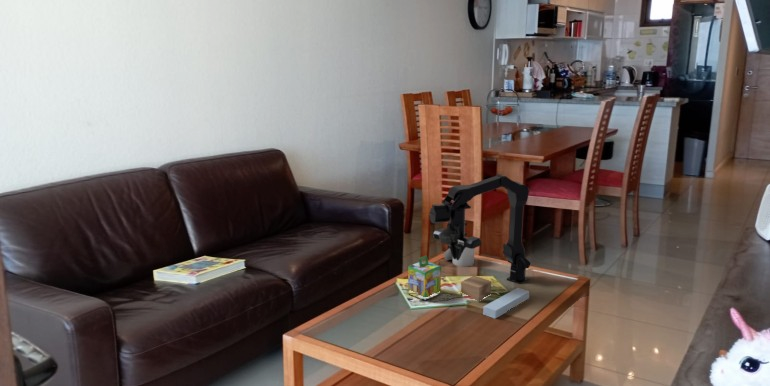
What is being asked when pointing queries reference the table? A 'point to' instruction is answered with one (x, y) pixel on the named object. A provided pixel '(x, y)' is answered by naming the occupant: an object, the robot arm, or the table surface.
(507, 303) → the pale grey long bar
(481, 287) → the block
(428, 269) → the chalk box
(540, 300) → the table surface
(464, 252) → the toilet tissue
